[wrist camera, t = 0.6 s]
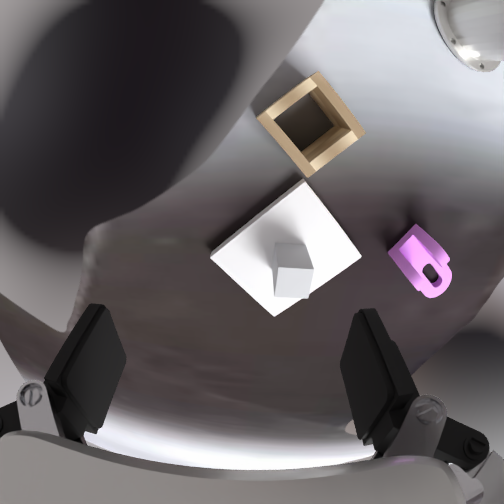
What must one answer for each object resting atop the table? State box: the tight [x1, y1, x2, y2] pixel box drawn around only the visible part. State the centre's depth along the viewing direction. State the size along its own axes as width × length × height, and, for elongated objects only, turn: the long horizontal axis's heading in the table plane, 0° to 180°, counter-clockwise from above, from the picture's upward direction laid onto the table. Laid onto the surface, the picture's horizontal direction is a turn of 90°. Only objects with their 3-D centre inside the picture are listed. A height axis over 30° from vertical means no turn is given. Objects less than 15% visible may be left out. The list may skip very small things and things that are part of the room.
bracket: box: [387, 224, 452, 298], centre depth 33 cm, size 13×6×7 cm, turn 50°
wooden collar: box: [256, 71, 366, 178], centre depth 26 cm, size 7×7×6 cm
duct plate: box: [210, 179, 362, 316], centre depth 32 cm, size 14×12×7 cm
